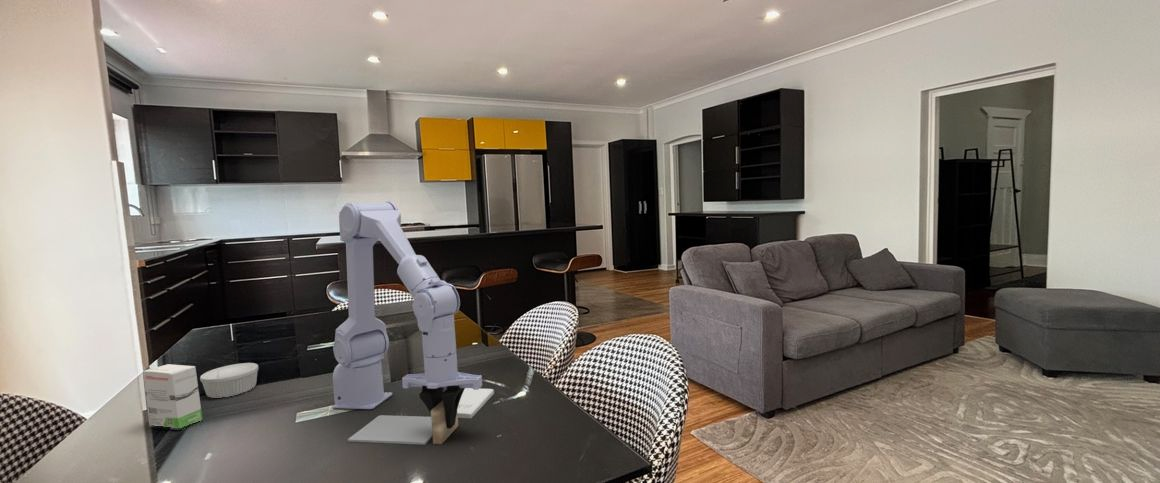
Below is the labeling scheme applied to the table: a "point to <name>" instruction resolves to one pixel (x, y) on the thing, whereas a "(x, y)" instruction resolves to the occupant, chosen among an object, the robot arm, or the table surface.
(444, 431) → the tile
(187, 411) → the ink box
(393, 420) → the mat
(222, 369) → the ramekin
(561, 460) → the table surface
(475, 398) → the external hard drive
